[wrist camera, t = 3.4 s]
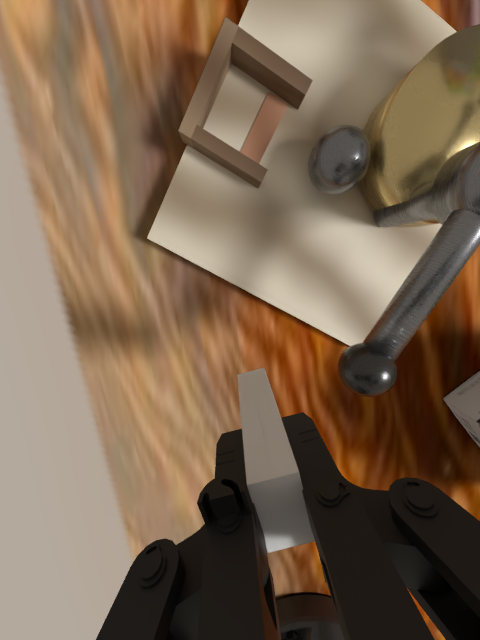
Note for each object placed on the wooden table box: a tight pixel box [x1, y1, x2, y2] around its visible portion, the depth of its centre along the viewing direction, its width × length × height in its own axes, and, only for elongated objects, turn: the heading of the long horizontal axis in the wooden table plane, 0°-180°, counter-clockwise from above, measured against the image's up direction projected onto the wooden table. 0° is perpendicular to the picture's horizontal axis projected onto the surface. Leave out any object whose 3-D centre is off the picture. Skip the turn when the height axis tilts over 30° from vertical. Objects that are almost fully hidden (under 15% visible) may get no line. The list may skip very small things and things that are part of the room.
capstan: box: [338, 24, 480, 397], centre depth 13 cm, size 22×9×9 cm, turn 152°
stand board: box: [147, 0, 457, 346], centre depth 17 cm, size 20×19×3 cm
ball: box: [308, 124, 372, 195], centre depth 15 cm, size 4×4×4 cm
